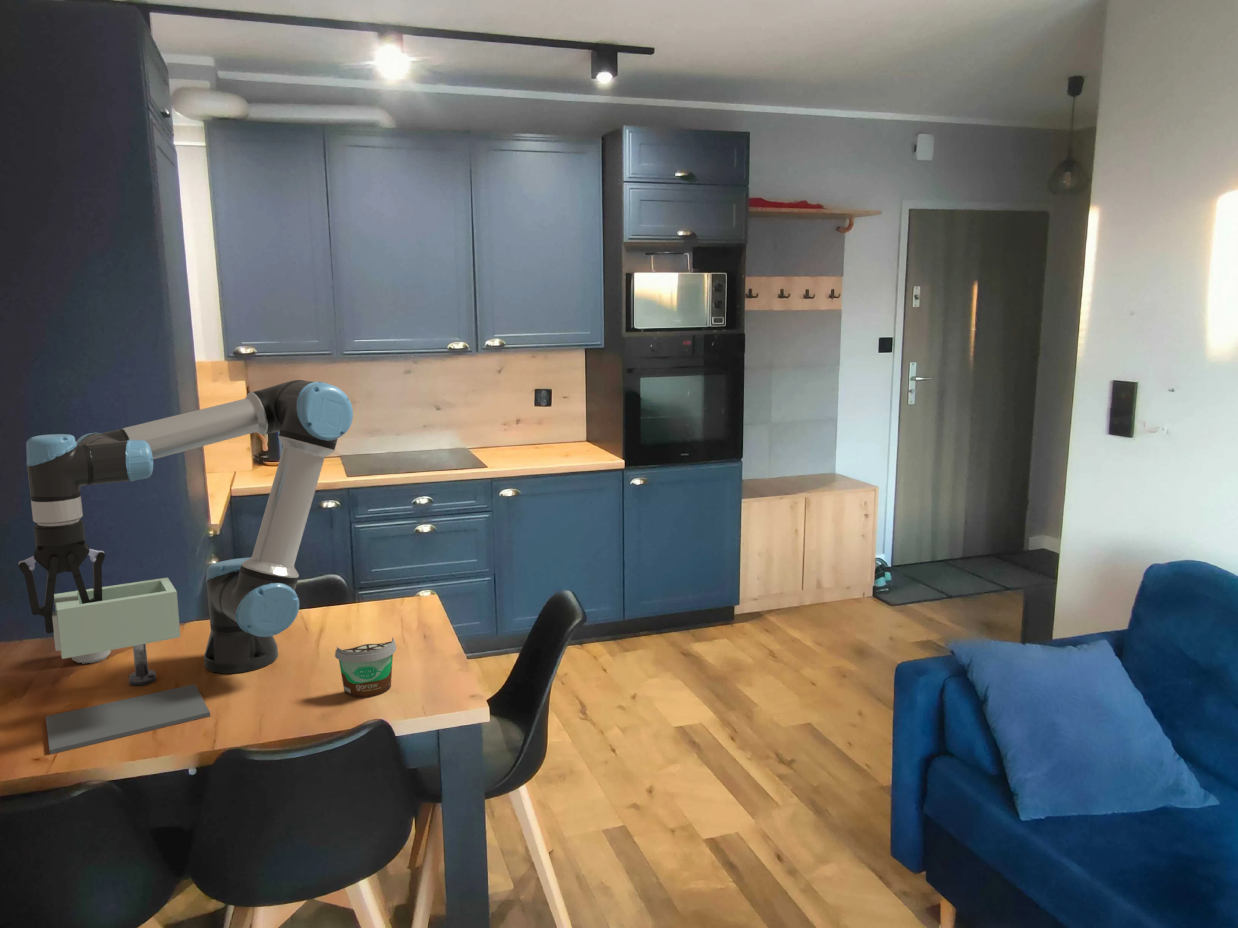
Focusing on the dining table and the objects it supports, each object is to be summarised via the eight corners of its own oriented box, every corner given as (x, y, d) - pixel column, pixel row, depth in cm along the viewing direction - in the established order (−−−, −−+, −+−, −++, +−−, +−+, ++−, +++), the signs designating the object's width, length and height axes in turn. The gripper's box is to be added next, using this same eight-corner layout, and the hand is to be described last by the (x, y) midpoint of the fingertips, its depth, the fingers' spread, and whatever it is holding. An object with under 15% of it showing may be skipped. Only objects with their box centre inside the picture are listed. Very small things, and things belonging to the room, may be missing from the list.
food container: (342, 704, 173) (339, 657, 171) (336, 693, 178) (334, 646, 177) (404, 692, 178) (402, 646, 177) (397, 681, 184) (395, 636, 182)
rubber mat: (195, 687, 181) (195, 683, 181) (210, 715, 168) (210, 712, 168) (46, 720, 166) (45, 716, 166) (49, 754, 153) (49, 749, 153)
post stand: (154, 674, 188) (148, 608, 185) (157, 682, 184) (151, 614, 181) (127, 679, 185) (121, 612, 182) (130, 687, 181) (124, 619, 178)
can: (118, 653, 200) (113, 602, 198) (96, 665, 192) (90, 613, 190) (87, 651, 200) (82, 601, 198) (64, 664, 193) (58, 612, 191)
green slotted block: (171, 620, 174) (167, 577, 173) (180, 637, 165) (176, 591, 164) (58, 640, 163) (53, 594, 162) (62, 658, 155) (57, 610, 153)
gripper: (109, 511, 164) (120, 631, 168) (2, 523, 154) (16, 649, 158) (113, 519, 158) (125, 642, 162) (2, 531, 148) (17, 662, 152)
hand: (71, 645), depth 160 cm, fingers closed on green slotted block, 3 cm apart
